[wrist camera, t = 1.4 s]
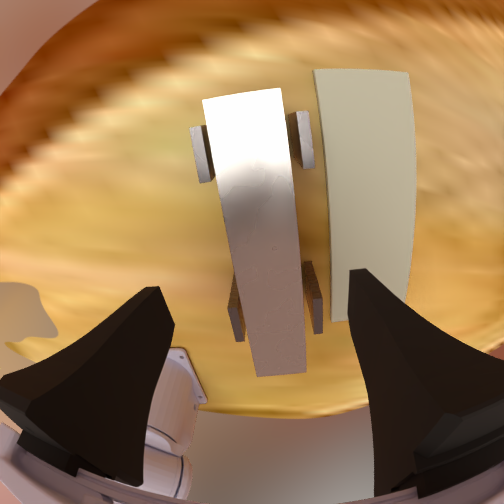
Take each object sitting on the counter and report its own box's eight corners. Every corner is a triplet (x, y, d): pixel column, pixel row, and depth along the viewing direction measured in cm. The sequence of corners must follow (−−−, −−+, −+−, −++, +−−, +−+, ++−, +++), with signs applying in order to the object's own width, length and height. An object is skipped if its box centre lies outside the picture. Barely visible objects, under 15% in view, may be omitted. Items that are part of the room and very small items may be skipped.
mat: (401, 306, 23) (403, 310, 23) (330, 318, 24) (331, 322, 24) (404, 73, 15) (408, 72, 14) (312, 70, 16) (314, 69, 15)
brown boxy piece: (312, 292, 23) (322, 333, 18) (241, 300, 24) (236, 341, 19) (311, 261, 22) (322, 298, 17) (234, 269, 22) (227, 308, 18)
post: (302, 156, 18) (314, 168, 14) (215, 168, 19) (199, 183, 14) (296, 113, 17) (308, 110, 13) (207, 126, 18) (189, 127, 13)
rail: (301, 332, 20) (306, 372, 17) (258, 336, 21) (257, 376, 17) (276, 97, 14) (280, 88, 10) (217, 105, 14) (202, 100, 10)
